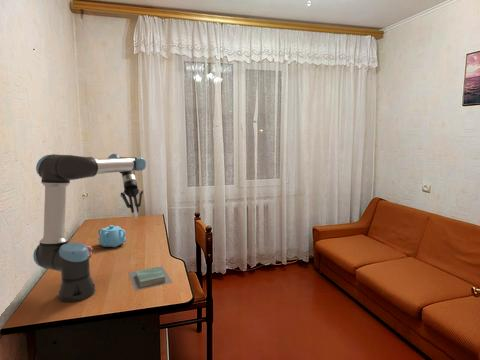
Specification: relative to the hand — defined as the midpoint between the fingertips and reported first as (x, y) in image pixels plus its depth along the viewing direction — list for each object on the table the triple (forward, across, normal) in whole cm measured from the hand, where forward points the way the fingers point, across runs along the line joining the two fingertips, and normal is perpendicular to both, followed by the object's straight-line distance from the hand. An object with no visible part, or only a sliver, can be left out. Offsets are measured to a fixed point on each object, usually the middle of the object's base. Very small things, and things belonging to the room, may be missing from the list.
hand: (136, 216), depth 176 cm
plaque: (+29, -2, -8) cm, 30 cm away
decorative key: (0, +32, -40) cm, 52 cm away
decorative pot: (-10, +10, -50) cm, 52 cm away
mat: (+35, -2, -5) cm, 35 cm away
